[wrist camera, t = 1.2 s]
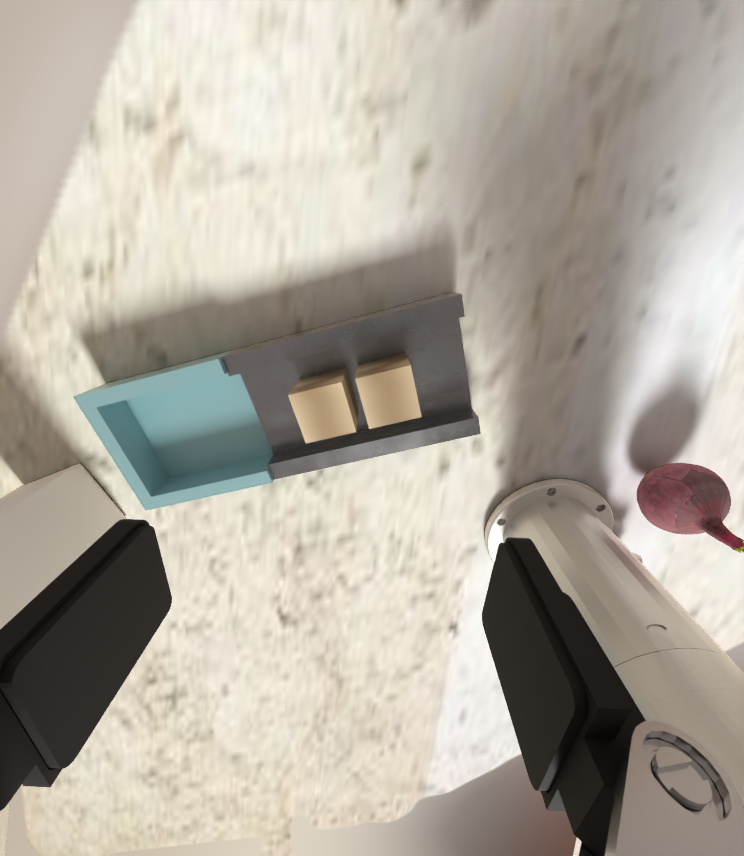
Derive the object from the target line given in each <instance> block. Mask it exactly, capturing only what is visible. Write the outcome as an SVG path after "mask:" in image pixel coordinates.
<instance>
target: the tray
mask: <svg viewBox="0 0 744 856" xmlns="http://www.w3.org/2000/svg"><path fill="white" fill-rule="evenodd" d="M232 351H233V350H231V351H227V352H224V353H220V354H216V355H212V356H208V357H205V358H201V359H197V360H193V361H190V362H186V363H182V364H178V365H174V366H171V367H167V368H163V369H159V370H156V371H152V372H148V373H144V374H140V375H137V376H133V377H129V378H125V379H121V380H118V381H114V382H110V383H106V384H104V385H101V386H99V387H96V388H94V389H91V390H89V391H87V392H84V393H82V394H79V395H77V396H74V399H75V400H76V402H77V404H78V405H79V407H80V408H81V410H82V411H83V413H84V415H85V416H86V418H87V419H88V421H89V422H90V424H91V425H92V427H93V429H94V430H95V432H96V433H97V435H98V436H99V438H100V440H101V441H102V443H103V444H104V446H105V447H106V449H107V451H108V452H109V454H110V455H111V457H112V458H113V460H114V462H115V463H116V465H117V466H118V468H119V469H120V471H121V473H122V474H123V476H124V477H125V479H126V480H127V482H128V484H129V485H130V487H131V488H132V490H133V491H134V493H135V494H136V496H137V498H138V499H139V501H140V502H141V504H142V505H143V507H144V509H145V510H150V509H155V508H159V507H164V506H168V505H173V504H177V503H182V502H186V501H191V500H195V499H200V498H205V497H209V496H214V495H218V494H223V493H227V492H232V491H236V490H241V489H245V488H250V487H254V486H259V485H264V484H268V483H272V482H273V480H274V479H273V477H272V474H271V472H270V470H269V468H268V463H269V461H270V459H271V457H272V456H273V451H272V449H271V447H270V444H269V442H268V439H267V437H266V435H265V432H264V430H263V427H262V425H261V423H260V420H259V418H258V416H257V413H256V411H255V408H254V406H253V404H252V401H251V399H250V396H249V394H248V392H247V389H246V387H245V384H244V382H243V380H242V377H241V375H240V374H237V375H233V376H229V375H228V373H227V370H226V368H225V366H224V363H223V361H222V359H221V357H223V356H224V355H226V354H228V353H230V352H232Z"/></svg>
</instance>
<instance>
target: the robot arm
mask: <svg viewBox="0 0 744 856" xmlns="http://www.w3.org/2000/svg"><path fill="white" fill-rule="evenodd" d="M613 526H614V519H613V513H612V510H611V508H610V506H609V504H608V503H607V502H606V500H605V499H604V498H603V497H602V496H601V495H600V494H599V493H598V492H597V491H596V490H595V489H593V488H591V487H589V486H588V485H586V484H583V483H580V482H577V481H574V480H567V479H550V480H545V481H539V482H536V483H533V484H530V485H527V486H525V487H523V488H521V489H519V490H517V491H515V492H514V493H512V494H511V495H509V496H508V497H507V498H505V499H504V500H503V501H502V502H501V503H500V504H499V505H498V506H497V507H496V509H495V510H494V512H493V513H492V514H491V516H490V518H489V520H488V523H487V525H486V530H485V545H486V548H487V551H488V553H489V555H490V557H491V560H492V561H493V563H494V566H493V570H492V574H491V578H490V583H489V587H488V591H487V595H486V599H485V603H484V607H483V612H482V621H483V627H484V630H485V634H486V637H487V640H488V643H489V647H490V650H491V653H492V657H493V660H494V663H495V667H496V670H497V673H498V677H499V680H500V683H501V686H502V690H503V693H504V696H505V700H506V703H507V706H508V710H509V713H510V716H511V719H512V723H513V726H514V729H515V733H516V736H517V739H518V743H519V746H520V749H521V753H522V756H523V759H524V762H525V766H526V769H527V772H528V775H529V779H530V781H531V784H532V786H533V787H534V789H535V790H537V791H541V793H542V796H543V799H544V803H545V806H546V808H547V810H554V811H555V810H556V811H566V813H567V816H568V818H569V821H570V824H571V827H572V830H573V833H574V835H575V836H576V837H577V840H576V844H575V849H574V853H573V856H744V673H743V671H741V669H740V668H739V667H738V666H737V665H736V664H735V663H734V662H733V661H732V660H731V659H730V658H729V657H728V655H727V654H726V653H725V652H724V651H723V650H722V649H721V648H720V647H719V646H718V645H717V644H716V643H715V642H714V640H713V639H712V638H711V637H710V636H709V635H708V634H707V633H706V632H705V631H704V630H703V629H702V628H701V626H700V625H699V624H698V623H697V622H696V621H695V620H694V619H693V618H692V617H691V616H690V615H689V614H688V613H687V611H686V610H685V609H684V608H683V607H682V606H681V605H680V604H679V603H678V602H677V601H676V600H675V599H674V598H673V596H672V595H671V594H670V593H669V592H668V591H667V590H666V589H665V588H664V587H663V586H662V585H661V584H660V583H659V581H658V580H657V579H656V578H655V577H654V576H653V575H652V574H651V573H650V572H649V571H648V570H647V569H646V567H645V566H644V565H643V564H642V559H641V557H640V556H639V555H637V554H635V553H632V552H631V551H630V550H629V549H628V548H627V547H626V546H625V545H624V544H623V543H622V542H621V541H620V540H619V539H618V537H617V536H616V535H615V534H614V533H613ZM171 603H172V596H171V592H170V588H169V584H168V581H167V577H166V573H165V569H164V565H163V561H162V557H161V553H160V549H159V545H158V541H157V538H156V534H155V530H154V528H153V527H152V526H149V523H148V522H147V521H145V520H132V519H122V520H119V521H118V522H116V523H115V524H114V525H113V526H112V527H111V528H110V529H109V530H108V531H106V532H105V533H104V534H103V535H102V536H101V537H100V538H99V539H98V540H97V541H96V542H95V543H93V544H92V545H91V546H90V547H89V548H88V549H87V550H86V551H85V552H84V553H83V554H81V555H80V556H79V557H78V558H77V559H76V560H75V561H74V562H73V563H72V564H71V565H70V566H68V567H67V568H66V569H65V570H64V571H63V572H62V573H61V574H60V575H59V576H58V577H57V578H55V579H54V580H53V581H52V582H51V583H50V584H49V585H48V586H47V587H46V588H45V589H44V590H42V591H41V592H40V593H39V594H38V595H37V596H36V597H35V598H34V599H33V600H32V601H31V602H29V603H28V604H27V605H26V606H25V607H24V608H23V609H22V610H21V611H20V612H19V613H18V614H16V615H15V616H14V617H13V618H12V619H11V620H10V621H9V622H8V623H7V624H6V625H5V626H3V627H2V628H1V629H0V856H5V847H6V837H7V836H6V835H7V826H8V815H9V806H10V800H11V799H12V797H13V795H14V794H15V793H16V792H17V790H18V789H19V787H20V786H21V784H23V786H37V787H51V785H52V784H53V782H54V781H55V779H56V778H57V776H58V775H59V773H60V772H61V770H62V768H66V767H67V766H69V765H70V764H71V763H72V762H73V761H74V759H75V758H76V756H77V755H78V753H79V752H80V750H81V749H82V747H83V746H84V744H85V742H86V741H87V739H88V738H89V736H90V735H91V733H92V731H93V730H94V728H95V727H96V725H97V724H98V722H99V720H100V719H101V717H102V716H103V714H104V712H105V711H106V709H107V708H108V706H109V705H110V703H111V701H112V700H113V698H114V697H115V695H116V694H117V692H118V690H119V689H120V687H121V686H122V684H123V683H124V681H125V679H126V678H127V676H128V675H129V673H130V672H131V670H132V668H133V667H134V665H135V664H136V662H137V660H138V659H139V657H140V656H141V654H142V653H143V651H144V649H145V648H146V646H147V645H148V643H149V642H150V640H151V638H152V637H153V635H154V634H155V632H156V631H157V629H158V627H159V626H160V624H161V623H162V621H163V620H164V618H165V616H166V615H167V613H168V611H169V609H170V607H171Z"/></svg>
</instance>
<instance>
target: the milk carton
mask: <svg viewBox="0 0 744 856" xmlns="http://www.w3.org/2000/svg"><path fill="white" fill-rule="evenodd" d="M122 519H126V517H125V516H124V515H123V513H122V512H121V511H120V510H119V509H118V507H117V506H116V505H115V504H114V503H113V502H112V500H111V499H110V498H109V497H108V496H107V494H106V493H105V492H104V491H103V490H102V488H101V487H100V486H99V485H98V484H97V483H96V481H95V480H94V479H93V478H92V477H91V475H90V474H89V473H88V472H87V471H86V469H85V468H84V467H83V466H82V465H81V464H77V465H74V466H72V467H69V468H66V469H64V470H61V471H59V472H56V473H54V474H51V475H49V476H46V477H43V478H41V479H38V480H36V481H33V482H31V483H28V484H26V485H23V486H21V487H19V488H17V489H16V490H14V491H12V492H11V493H9V494H7V495H6V496H4V497H2V498H1V499H0V629H1V628H2V627H3V626H5V625H6V624H7V623H8V622H9V621H10V620H11V619H12V618H13V617H14V616H15V615H16V614H18V613H19V612H20V611H21V610H22V609H23V608H24V607H25V606H26V605H27V604H28V603H29V602H31V601H32V600H33V599H34V598H35V597H36V596H37V595H38V594H39V593H40V592H41V591H42V590H44V589H45V588H46V587H47V586H48V585H49V584H50V583H51V582H52V581H53V580H54V579H55V578H57V577H58V576H59V575H60V574H61V573H62V572H63V571H64V570H65V569H66V568H67V567H68V566H70V565H71V564H72V563H73V562H74V561H75V560H76V559H77V558H78V557H79V556H80V555H81V554H83V553H84V552H85V551H86V550H87V549H88V548H89V547H90V546H91V545H92V544H93V543H95V542H96V541H97V540H98V539H99V538H100V537H101V536H102V535H103V534H104V533H105V532H106V531H108V530H109V529H110V528H111V527H112V526H113V525H114V524H115V523H116V522H118V521H119V520H122Z"/></svg>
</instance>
